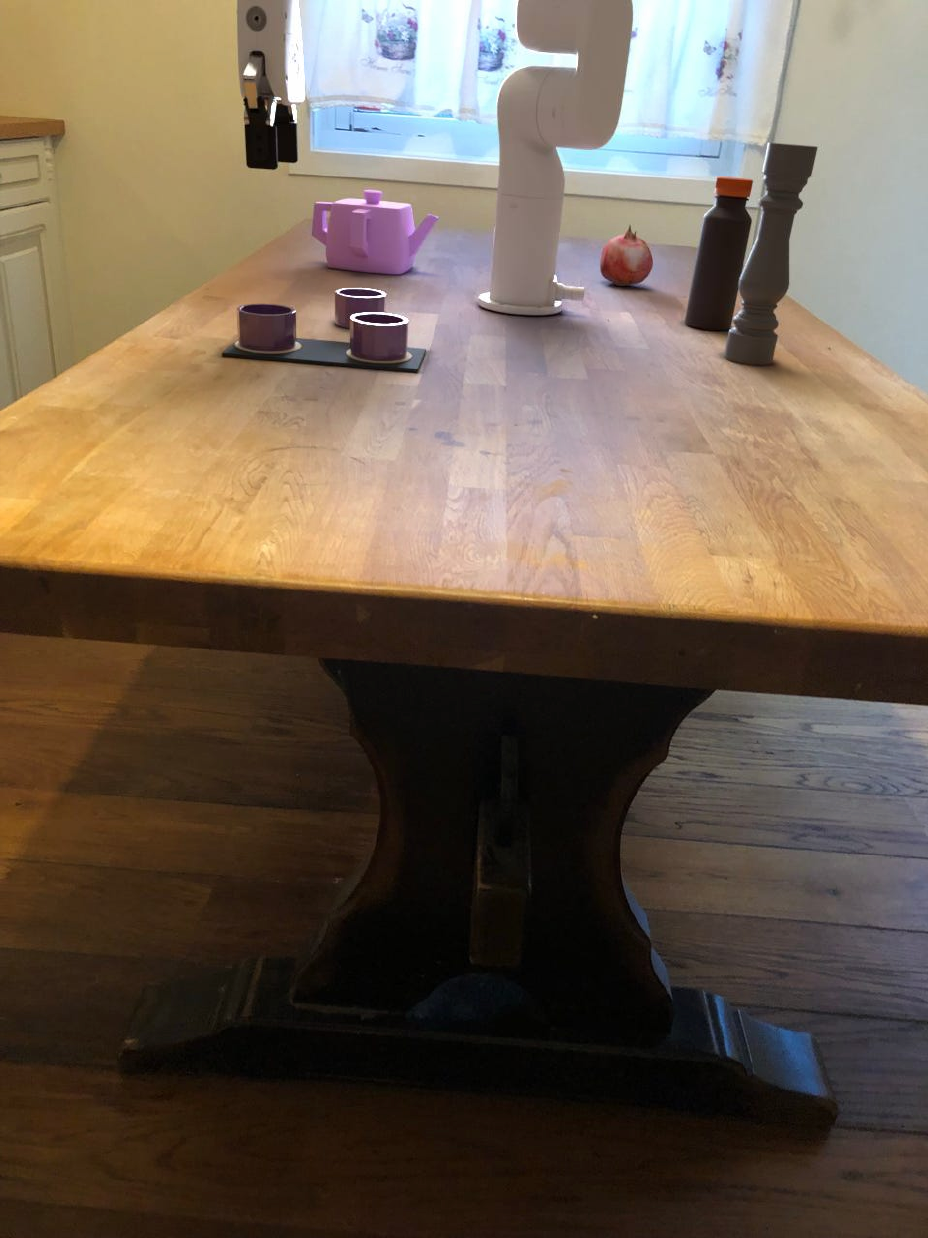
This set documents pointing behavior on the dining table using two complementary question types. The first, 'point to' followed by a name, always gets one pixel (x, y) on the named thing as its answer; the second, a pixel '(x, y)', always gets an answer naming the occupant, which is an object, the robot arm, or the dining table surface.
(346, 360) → the mat
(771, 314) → the candle holder
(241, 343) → the purple cup
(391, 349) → the dish
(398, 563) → the dining table surface
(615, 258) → the fruit
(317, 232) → the teakettle
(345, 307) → the dish
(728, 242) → the bottle
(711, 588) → the dining table surface
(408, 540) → the dining table surface
